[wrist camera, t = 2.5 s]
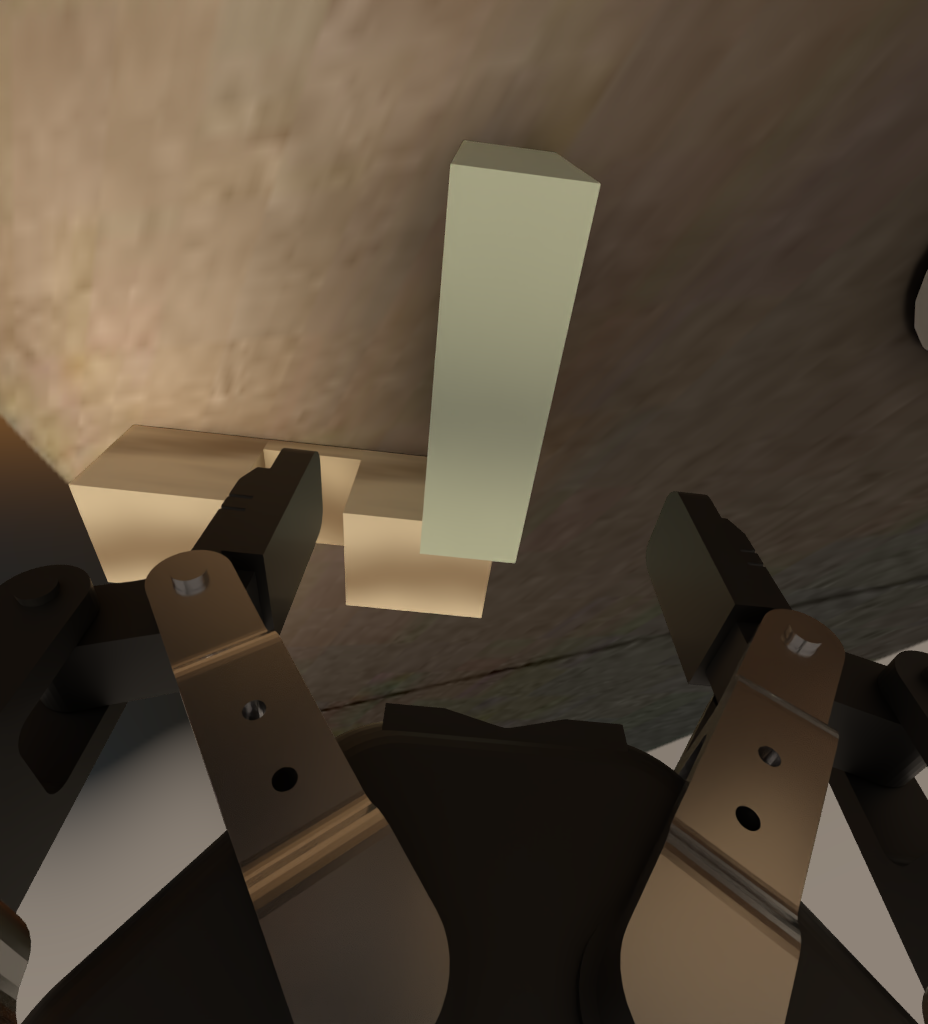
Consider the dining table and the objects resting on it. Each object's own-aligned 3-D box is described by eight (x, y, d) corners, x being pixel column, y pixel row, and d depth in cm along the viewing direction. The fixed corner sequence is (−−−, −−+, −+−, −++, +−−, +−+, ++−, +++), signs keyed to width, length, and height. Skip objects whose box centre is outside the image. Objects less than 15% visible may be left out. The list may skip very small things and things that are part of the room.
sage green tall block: (463, 140, 20) (450, 164, 12) (555, 152, 20) (600, 183, 12) (438, 423, 28) (419, 553, 20) (506, 430, 28) (515, 563, 20)
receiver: (133, 424, 28) (68, 484, 24) (495, 464, 29) (497, 529, 24) (160, 515, 32) (108, 581, 27) (481, 548, 32) (481, 618, 28)
